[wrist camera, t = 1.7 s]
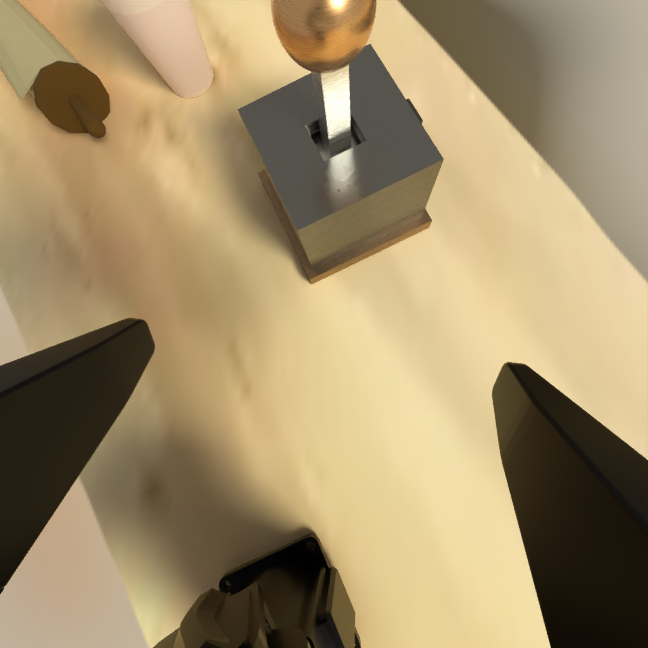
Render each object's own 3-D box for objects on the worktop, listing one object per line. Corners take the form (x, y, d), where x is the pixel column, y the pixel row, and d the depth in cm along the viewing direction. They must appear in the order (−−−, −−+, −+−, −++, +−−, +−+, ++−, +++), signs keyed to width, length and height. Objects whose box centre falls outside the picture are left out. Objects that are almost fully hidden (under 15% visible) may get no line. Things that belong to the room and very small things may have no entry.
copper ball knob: (312, 219, 18) (266, 54, 9) (271, 139, 19) (194, -80, 10) (407, 173, 18) (457, -42, 9) (360, 95, 19) (362, -165, 10)
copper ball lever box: (311, 284, 23) (292, 243, 16) (261, 181, 25) (226, 106, 18) (432, 225, 23) (463, 159, 16) (373, 126, 24) (379, 30, 18)
